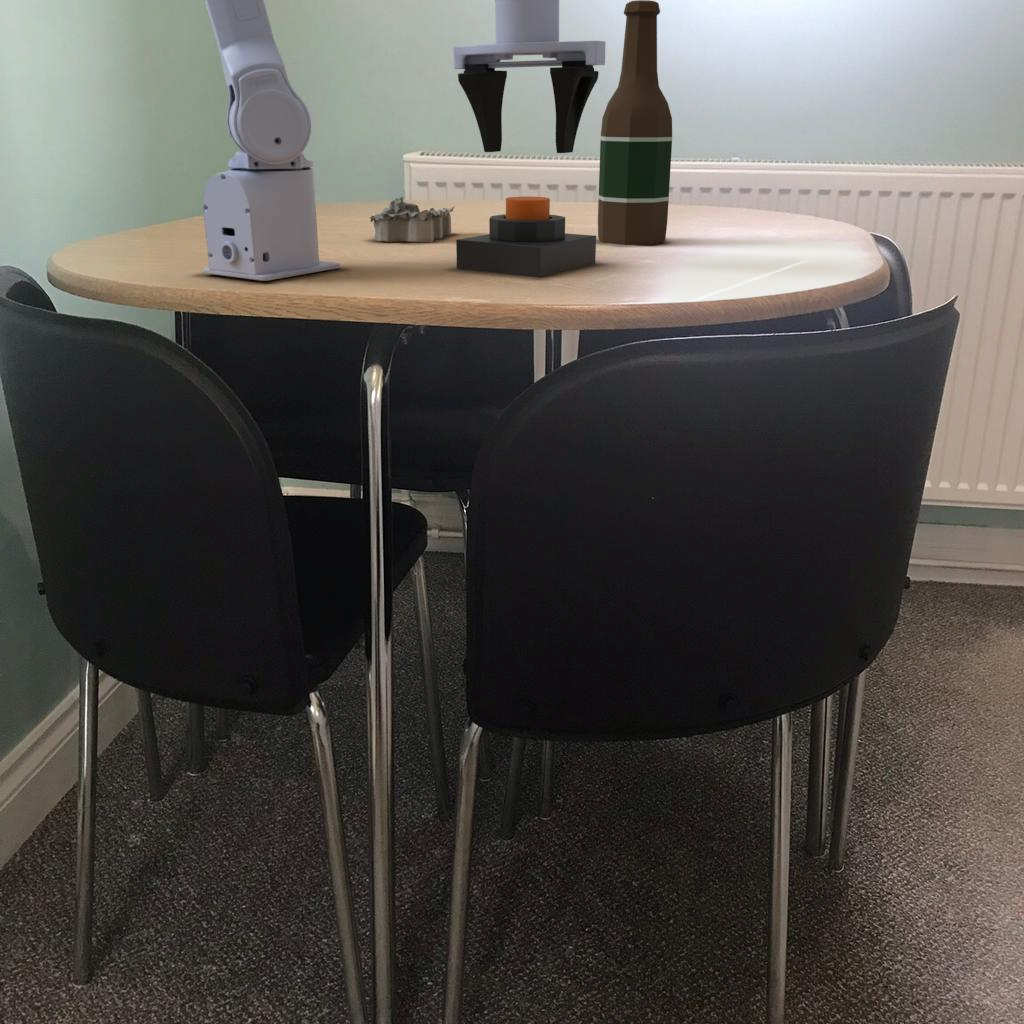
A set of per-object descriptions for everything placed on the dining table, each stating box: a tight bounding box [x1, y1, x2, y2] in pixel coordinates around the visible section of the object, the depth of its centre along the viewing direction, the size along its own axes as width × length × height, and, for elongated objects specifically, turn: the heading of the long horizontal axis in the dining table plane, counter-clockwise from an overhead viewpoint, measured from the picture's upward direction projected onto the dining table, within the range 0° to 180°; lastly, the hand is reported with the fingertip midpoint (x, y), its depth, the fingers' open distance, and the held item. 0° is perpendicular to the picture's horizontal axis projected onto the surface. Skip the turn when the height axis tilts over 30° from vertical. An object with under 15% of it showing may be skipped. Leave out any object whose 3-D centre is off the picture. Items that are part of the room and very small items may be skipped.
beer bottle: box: [597, 0, 673, 246], centre depth 108 cm, size 8×8×24 cm
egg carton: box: [369, 196, 455, 243], centre depth 115 cm, size 11×8×4 cm
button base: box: [455, 213, 597, 279], centre depth 94 cm, size 10×9×4 cm
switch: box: [505, 196, 551, 220], centre depth 93 cm, size 4×4×2 cm
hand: (528, 152), depth 95 cm, fingers open, 7 cm apart
